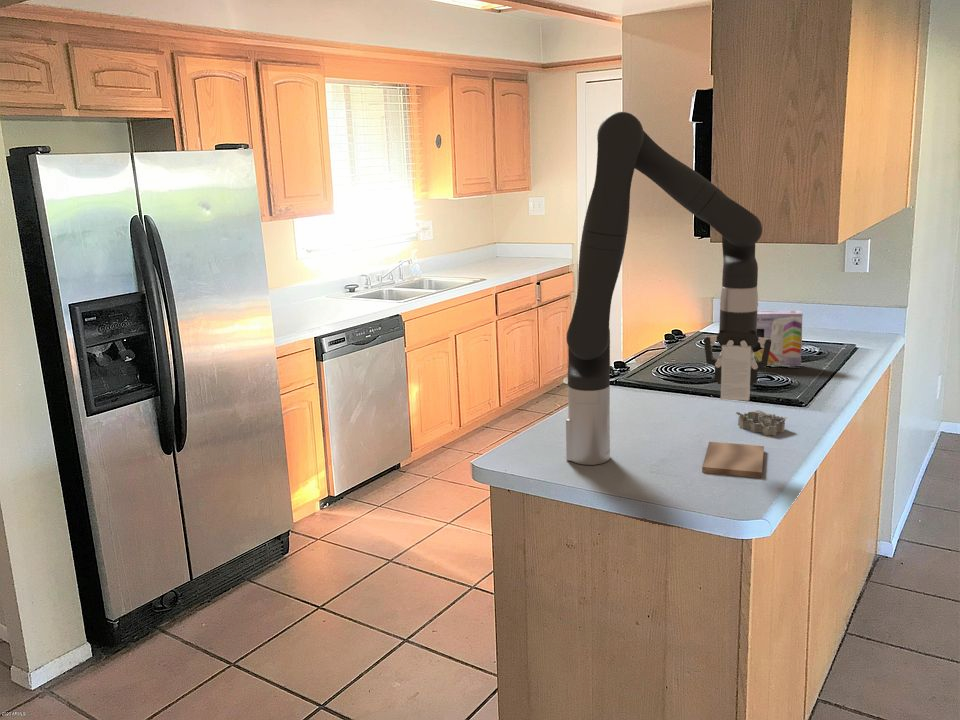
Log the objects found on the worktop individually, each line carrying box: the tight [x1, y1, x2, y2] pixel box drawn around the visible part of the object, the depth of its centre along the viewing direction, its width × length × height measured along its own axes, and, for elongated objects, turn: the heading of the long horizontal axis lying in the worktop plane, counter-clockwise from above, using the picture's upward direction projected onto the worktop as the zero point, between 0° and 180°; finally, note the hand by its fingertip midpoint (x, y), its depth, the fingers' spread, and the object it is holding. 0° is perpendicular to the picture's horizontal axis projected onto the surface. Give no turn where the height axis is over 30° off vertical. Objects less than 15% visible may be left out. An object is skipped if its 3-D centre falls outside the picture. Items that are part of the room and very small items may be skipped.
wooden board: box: [701, 441, 765, 478], centre depth 175 cm, size 12×16×1 cm
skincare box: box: [720, 345, 751, 402], centre depth 171 cm, size 6×4×12 cm
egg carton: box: [735, 409, 788, 436], centre depth 195 cm, size 11×8×4 cm
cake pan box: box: [752, 309, 803, 366], centre depth 248 cm, size 19×5×18 cm, turn 73°
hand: (735, 383), depth 172 cm, fingers closed on skincare box, 6 cm apart
